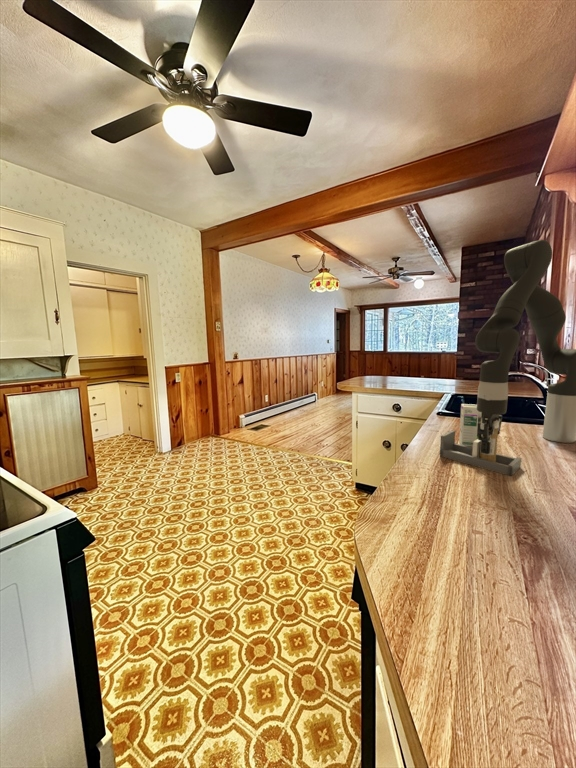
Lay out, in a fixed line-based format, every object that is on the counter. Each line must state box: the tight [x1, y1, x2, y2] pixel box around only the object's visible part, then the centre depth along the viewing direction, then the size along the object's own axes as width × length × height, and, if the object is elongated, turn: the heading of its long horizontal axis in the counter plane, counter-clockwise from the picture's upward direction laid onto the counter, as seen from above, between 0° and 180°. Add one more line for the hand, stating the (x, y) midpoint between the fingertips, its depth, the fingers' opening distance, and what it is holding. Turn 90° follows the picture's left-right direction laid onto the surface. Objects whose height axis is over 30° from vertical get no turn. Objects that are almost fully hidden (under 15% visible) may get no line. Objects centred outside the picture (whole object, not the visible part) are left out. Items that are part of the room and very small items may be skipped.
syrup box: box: [458, 403, 483, 448], centre depth 112 cm, size 6×6×14 cm
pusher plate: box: [472, 439, 480, 457], centre depth 98 cm, size 6×1×5 cm, turn 130°
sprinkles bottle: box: [479, 421, 499, 462], centre depth 95 cm, size 5×5×13 cm
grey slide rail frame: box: [439, 429, 522, 477], centre depth 98 cm, size 8×20×7 cm, turn 40°
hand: (487, 450), depth 96 cm, fingers closed on sprinkles bottle, 4 cm apart
